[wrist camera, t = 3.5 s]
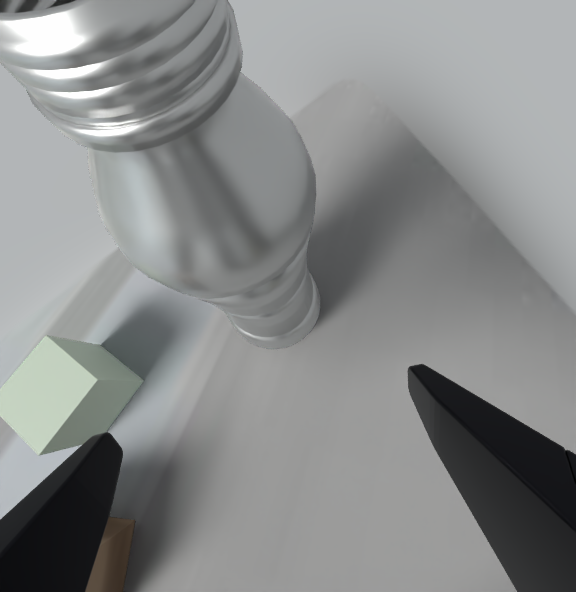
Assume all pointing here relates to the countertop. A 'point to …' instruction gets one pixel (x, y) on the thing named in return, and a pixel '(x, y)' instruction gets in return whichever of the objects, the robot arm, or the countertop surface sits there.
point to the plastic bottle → (178, 150)
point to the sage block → (66, 394)
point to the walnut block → (112, 557)
